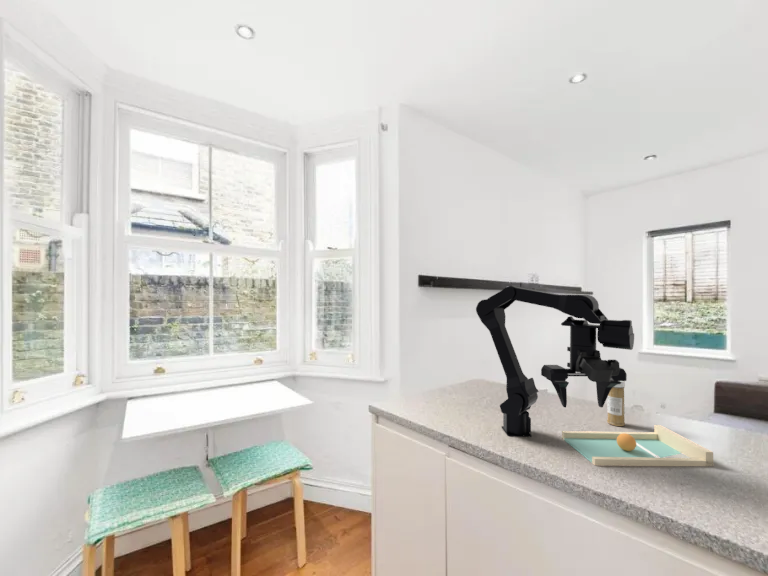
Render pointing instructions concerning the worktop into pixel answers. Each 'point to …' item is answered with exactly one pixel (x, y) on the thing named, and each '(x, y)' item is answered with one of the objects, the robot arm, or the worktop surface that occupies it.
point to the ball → (626, 442)
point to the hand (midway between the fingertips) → (582, 406)
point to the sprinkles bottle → (616, 405)
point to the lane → (638, 448)
